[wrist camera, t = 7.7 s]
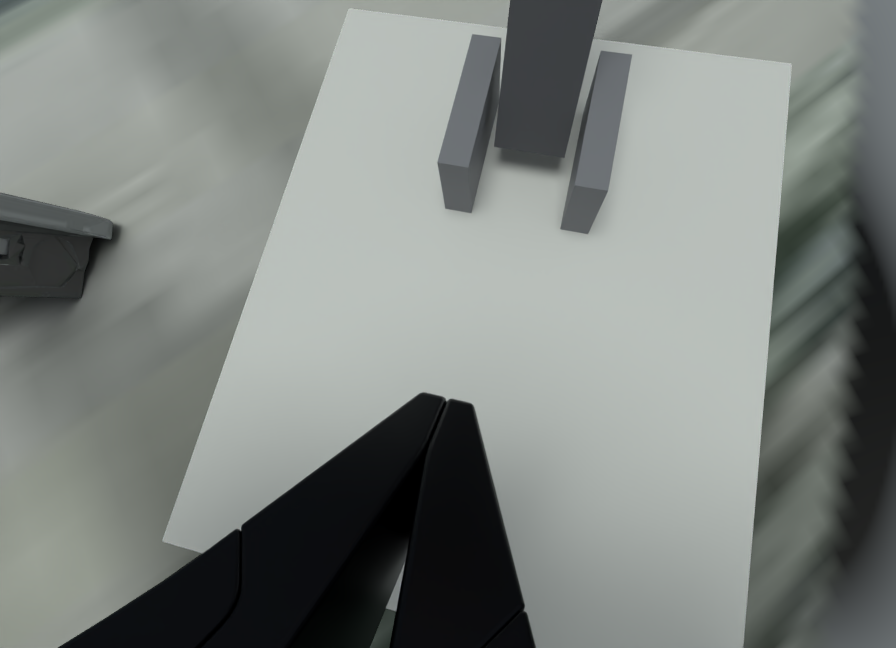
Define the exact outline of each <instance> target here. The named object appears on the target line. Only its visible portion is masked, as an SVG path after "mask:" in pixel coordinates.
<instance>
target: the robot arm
mask: <svg viewBox="0 0 896 648" xmlns="http://www.w3.org/2000/svg"><path fill="white" fill-rule="evenodd" d="M404 563H405V565H404ZM403 565H404V571H403V576H402V582H401V587H400V593H399V598H398V604H397V609H396V615H395V620H394V626H393V631H392V637H391V642H390V648H536V645H535V641H534V637H533V633H532V629H531V625H530V621H529V617H528V614H527V612H525V611H524V609H525V603H524V599H523V595H522V591H521V587H520V583H519V580H518V576H517V572H516V568H515V564H514V560H513V556H512V552H511V548H510V544H509V540H508V536H507V532H506V529H505V525H504V521H503V517H502V513H501V509H500V505H499V501H498V497H497V493H496V489H495V485H494V481H493V477H492V474H491V470H490V466H489V462H488V458H487V454H486V450H485V446H484V442H483V438H482V434H481V430H480V426H479V423H478V419H477V415H476V411H475V407H474V405H473V404H472V403H469V402H465V401H461V400H456V399H449V400H447V401H446V398H445V397H443V396H439V395H435V394H431V393H426V392H422V393H419V394H418V395H416V396H415V397H414V398H412V399H411V400H410V401H408V402H407V403H405V404H404V405H403V406H401V407H400V408H399V409H397V410H396V411H395V412H393V413H392V414H391V415H389V416H388V417H387V418H385V419H384V420H382V421H381V422H380V423H378V424H377V425H376V426H374V427H373V428H372V429H370V430H369V431H368V432H366V433H365V434H364V435H362V436H361V437H360V438H358V439H357V440H355V441H354V442H353V443H351V444H350V445H349V446H347V447H346V448H345V449H343V450H342V451H341V452H339V453H338V454H337V455H335V456H334V457H333V458H331V459H330V460H328V461H327V462H326V463H324V464H323V465H322V466H320V467H319V468H318V469H316V470H315V471H314V472H312V473H311V474H310V475H308V476H307V477H305V478H304V479H303V480H301V481H300V482H299V483H297V484H296V485H295V486H293V487H292V488H291V489H289V490H288V491H287V492H285V493H284V494H283V495H281V496H280V497H278V498H277V499H276V500H274V501H273V502H272V503H270V504H269V505H268V506H266V507H265V508H264V509H262V510H261V511H260V512H258V513H257V514H256V515H254V516H253V517H251V518H250V519H249V520H247V521H246V522H245V523H243V524H242V526H241V530H239V529H235V530H233V531H232V532H231V533H229V534H228V535H227V536H225V537H224V538H223V539H221V540H220V541H219V542H217V543H216V544H215V545H213V546H212V547H211V548H209V549H208V550H206V551H205V552H204V553H202V554H201V555H199V556H198V557H196V558H195V559H194V560H192V561H191V562H189V563H188V564H186V565H185V566H184V567H182V568H181V569H179V570H178V571H177V572H175V573H174V574H172V575H171V576H169V577H168V578H167V579H165V580H164V581H162V582H161V583H159V584H158V585H156V586H155V587H153V588H151V589H150V590H148V591H147V592H145V593H144V594H142V595H141V596H139V597H138V598H136V599H134V600H133V601H131V602H130V603H128V604H127V605H125V606H124V607H122V608H120V609H119V610H117V611H116V612H114V613H113V614H111V615H110V616H108V617H107V618H105V619H103V620H102V621H100V622H98V623H97V624H95V625H94V626H92V627H90V628H89V629H87V630H85V631H84V632H82V633H81V634H79V635H77V636H76V637H74V638H73V639H71V640H69V641H68V642H66V643H64V644H63V645H61V646H60V647H58V648H370V645H371V643H372V640H373V638H374V635H375V633H376V631H377V628H378V626H379V623H380V621H381V619H382V616H383V614H384V611H385V609H386V606H387V604H388V602H389V599H390V597H391V594H392V592H393V590H394V587H395V585H396V582H397V580H398V577H399V575H400V573H401V570H402V568H403Z"/></svg>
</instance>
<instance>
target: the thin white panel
mask: <svg viewBox="0 0 896 648" xmlns="http://www.w3.org/2000/svg"><path fill="white" fill-rule="evenodd" d="M506 35H507V28H503V27H495V26H487V25H479V24H471V23H463V22H455V21H447V20H439V19H431V18H423V17H415V16H407V15H399V14H391V13H383V12H375V11H367V10H360V9H352V8H349V10H348V12H347V15H346V18H345V21H344V24H343V27H342V30H341V32H340V35H339V38H338V41H337V44H336V47H335V50H334V52H333V55H332V58H331V61H330V64H329V67H328V69H327V72H326V75H325V78H324V81H323V84H322V87H321V89H320V92H319V95H318V98H317V101H316V104H315V107H314V109H313V112H312V115H311V118H310V121H309V124H308V126H307V129H306V132H305V135H304V138H303V141H302V144H301V146H300V149H299V152H298V155H297V158H296V161H295V164H294V166H293V169H292V172H291V175H290V178H289V181H288V184H287V186H286V189H285V192H284V195H283V198H282V201H281V203H280V206H279V209H278V212H277V215H276V218H275V221H274V223H273V226H272V229H271V232H270V235H269V238H268V241H267V243H266V246H265V249H264V252H263V255H262V258H261V260H260V263H259V266H258V269H257V272H256V275H255V278H254V280H253V283H252V286H251V289H250V292H249V295H248V298H247V300H246V303H245V306H244V309H243V312H242V315H241V317H240V320H239V323H238V326H237V329H236V332H235V335H234V337H233V340H232V343H231V346H230V349H229V352H228V355H227V357H226V360H225V363H224V366H223V369H222V372H221V375H220V377H219V380H218V383H217V386H216V389H215V392H214V394H213V397H212V400H211V403H210V406H209V409H208V412H207V414H206V417H205V420H204V423H203V426H202V429H201V432H200V434H199V437H198V440H197V443H196V446H195V449H194V451H193V454H192V457H191V460H190V463H189V466H188V469H187V471H186V474H185V477H184V480H183V483H182V486H181V489H180V491H179V494H178V497H177V500H176V503H175V506H174V509H173V511H172V514H171V517H170V520H169V523H168V526H167V528H166V531H165V534H164V537H163V540H162V542H166V543H169V544H172V545H176V546H179V547H183V548H186V549H189V550H193V551H196V552H199V553H204V552H205V551H206V550H208V549H209V548H211V547H212V546H213V545H215V544H216V543H217V542H219V541H220V540H221V539H223V538H224V537H225V536H227V535H228V534H229V533H231V532H232V531H233V530H235V529H239V530H241V526H242V524H243V523H245V522H246V521H247V520H249V519H250V518H251V517H253V516H254V515H256V514H257V513H258V512H260V511H261V510H262V509H264V508H265V507H266V506H268V505H269V504H270V503H272V502H273V501H274V500H276V499H277V498H278V497H280V496H281V495H283V494H284V493H285V492H287V491H288V490H289V489H291V488H292V487H293V486H295V485H296V484H297V483H299V482H300V481H301V480H303V479H304V478H305V477H307V476H308V475H310V474H311V473H312V472H314V471H315V470H316V469H318V468H319V467H320V466H322V465H323V464H324V463H326V462H327V461H328V460H330V459H331V458H333V457H334V456H335V455H337V454H338V453H339V452H341V451H342V450H343V449H345V448H346V447H347V446H349V445H350V444H351V443H353V442H354V441H355V440H357V439H358V438H360V437H361V436H362V435H364V434H365V433H366V432H368V431H369V430H370V429H372V428H373V427H374V426H376V425H377V424H378V423H380V422H381V421H382V420H384V419H385V418H387V417H388V416H389V415H391V414H392V413H393V412H395V411H396V410H397V409H399V408H400V407H401V406H403V405H404V404H405V403H407V402H408V401H410V400H411V399H412V398H414V397H415V396H416V395H418V394H419V393H422V392H426V393H431V394H435V395H439V396H443V397H445V398H446V401H447V400H449V399H456V400H461V401H465V402H469V403H472V404H473V405H474V407H475V411H476V415H477V419H478V423H479V426H480V430H481V434H482V438H483V442H484V446H485V450H486V454H487V458H488V462H489V466H490V470H491V474H492V477H493V481H494V485H495V489H496V493H497V497H498V501H499V505H500V509H501V513H502V517H503V521H504V525H505V529H506V532H507V536H508V540H509V544H510V548H511V552H512V556H513V560H514V564H515V568H516V572H517V576H518V580H519V583H520V587H521V591H522V595H523V599H524V603H525V609H524V611H525V612H527V614H528V617H529V621H530V625H531V629H532V633H533V637H534V641H535V645H536V648H743V644H744V632H745V620H746V608H747V596H748V584H749V572H750V560H751V548H752V536H753V524H754V512H755V500H756V488H757V476H758V464H759V452H760V440H761V428H762V416H763V404H764V392H765V380H766V368H767V356H768V344H769V332H770V320H771V308H772V296H773V284H774V272H775V260H776V248H777V236H778V224H779V212H780V200H781V188H782V176H783V164H784V152H785V140H786V128H787V116H788V104H789V92H790V80H791V68H792V64H790V63H782V62H774V61H766V60H758V59H750V58H742V57H734V56H726V55H718V54H710V53H702V52H694V51H686V50H678V49H670V48H662V47H654V46H647V45H639V44H631V43H623V42H615V41H607V40H599V39H593V41H592V45H591V49H590V54H589V58H588V62H587V66H586V70H585V74H584V79H583V83H582V87H581V91H580V95H579V100H578V104H577V108H576V112H575V116H574V120H573V125H572V129H571V133H570V137H569V141H568V145H567V150H566V154H565V158H561V157H555V156H548V155H542V154H536V153H529V152H523V151H517V150H511V149H504V148H498V147H494V142H495V133H496V124H497V115H498V106H499V97H500V88H501V79H502V70H503V61H504V52H505V44H506ZM404 565H405V563H404ZM404 565H403V568H402V570H401V573H400V575H399V577H398V580H397V582H396V585H395V587H394V590H393V592H392V594H391V597H390V599H389V602H388V604H387V606H386V608H387V609H390V610H393V611H396V609H397V604H398V598H399V593H400V587H401V582H402V576H403V571H404Z"/></svg>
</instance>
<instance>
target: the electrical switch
mask: <svg viewBox="0 0 896 648" xmlns="http://www.w3.org/2000/svg"><path fill="white" fill-rule="evenodd" d="M112 228H113V223H112V222H111V221H110V220H109V219H106V218H102V217H99V216H96V215H93V214H89V213H85V212H81V211H78V210H73V209H69V208H65V207H61V206H56V205H52V204H48V203H43V202H39V201H35V200H30V199H26V198H22V197H18V196H13V195H9V194H5V193H0V296H28V297H63V298H81V295H82V287H83V279H84V271H85V269H86V266H87V263H88V261H89V248H90V245H91V243H92V240H93V238H102V239H109V240H111V238H112Z"/></svg>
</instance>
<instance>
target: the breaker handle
mask: <svg viewBox="0 0 896 648" xmlns="http://www.w3.org/2000/svg"><path fill="white" fill-rule="evenodd" d="M601 3H602V0H510V8H509V17H508V26H507V35H506V44H505V52H504V61H503V70H502V79H501V88H500V97H499V106H498V115H497V124H496V133H495V142H494V147H498V148H504V149H511V150H517V151H523V152H529V153H536V154H542V155H548V156H555V157H561V158H565V154H566V150H567V145H568V141H569V137H570V133H571V129H572V125H573V120H574V116H575V112H576V108H577V104H578V100H579V95H580V91H581V87H582V83H583V79H584V74H585V70H586V66H587V62H588V58H589V54H590V49H591V45H592V41H593V37H594V33H595V29H596V24H597V20H598V16H599V12H600V8H601Z"/></svg>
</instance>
